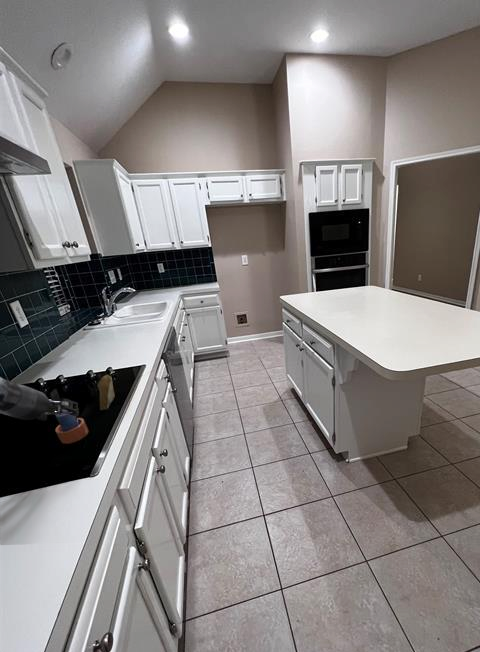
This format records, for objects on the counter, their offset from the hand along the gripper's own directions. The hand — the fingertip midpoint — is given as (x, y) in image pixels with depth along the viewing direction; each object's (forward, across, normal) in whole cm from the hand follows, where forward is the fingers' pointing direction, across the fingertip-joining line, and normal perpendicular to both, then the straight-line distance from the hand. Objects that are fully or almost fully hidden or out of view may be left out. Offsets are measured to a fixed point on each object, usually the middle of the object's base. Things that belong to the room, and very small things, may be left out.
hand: (61, 414), depth 91 cm
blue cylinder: (+6, 0, +5) cm, 8 cm away
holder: (+7, 0, +5) cm, 9 cm away
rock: (+20, -3, -8) cm, 22 cm away
